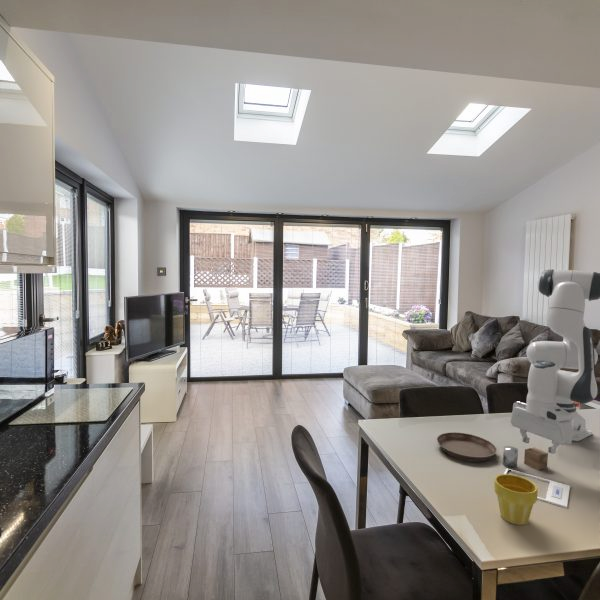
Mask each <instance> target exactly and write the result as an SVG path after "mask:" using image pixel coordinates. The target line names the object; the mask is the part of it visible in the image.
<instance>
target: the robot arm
mask: <svg viewBox="0 0 600 600" xmlns="http://www.w3.org/2000/svg"><path fill="white" fill-rule="evenodd" d="M536 283H537V288H538V291H539V293H540V294H541V295H543V296H545V297H548V298H549V297H550V298H549V303H548V306H547V312H546V324H547V326H548V328H549V329H550V330H551V331H552V332H553V333H555V334H557V336H560V337H562V339H563V340H562V341H557V340H556V341H554V340H553V341H552V340H540V341H538V340H537V341H533V342H531V343H530V344H528V346H527V348H526V357H527V360H528V362H529V363H530V366H529V371H528V374H527V375H528V377H527V390H528V392H527V395H526V403H525V402H521V401H515V402H514V403H513V405H512V412H511V416H510V424H511V426H512V427H514V428H517V429H519V432H520V433H519V434H520V435H521V437H522V439H521V440H522V442H523V443H525V444H529V443H530V441H531V439H530V437H528V434H527V433H530V434H534V435H536V436H539V437H541V438H543V439H546V440H548V441H551V444H552V446H549V447H547V448H548V450H547V453H548V454H552V455H554V454H556V453H557V449H558V447H559V446H560V445H563V446H565V445H570V444H571V443H572V442H579V441H581V440H583V439H586V438H587V437H588V438H589V436H591V435H593V432H592V431H591V430H589V429H588V428H586V424H587V423H586V419H585V418H584V417H583V416H582V415H581V414H580V413H579V412H578V411H577V408H579V407H580V406H581V404H582V405H585V404H588V403H591V402H592V401H594V400H595V399H596V398H597V396H598V385H597V384H598V383H597V377H596V364H597V362H598V361H599V356H598V352H597V350H596V349H595V347H594V345H595V344H594V337H593V332H592V330H591V329H590V328H589V327H587V326H586V324H585V322H584V316H585V309H586V300H588V302H592V301H597V300H599V299H600V272H597V271H596V272H595V271H593V272H591V271H586V270H577V269H573V270H572V269H552V268H551V269H546V270H543V271H542V272H541V273H540V275H539V276H538V279H537V282H536ZM562 369H572V370H578V371H577V372H576V371H575V372H574V371H568V370H562Z"/></svg>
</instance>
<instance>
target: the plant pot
mask: <svg viewBox="0 0 600 600" xmlns="http://www.w3.org/2000/svg"><path fill="white" fill-rule="evenodd" d="M493 488H494V489H493V490H494V493H495V494H496V496H497V502H498V506H499V507H498V508H499V513H500V516H501V518H502V519H503V520H505V521H507V522H508V523H510V524H514V525H520V526H522V525H527V524H528V523H529V520H530V516H531V514H532V510H533V507H534V505H535V504H536V503H537V501H538V499H537V497H538V494H539V493H538V486H537V484H535V483H534V482H533V481H531V480H530V479H528V478H525V477H523V476H520V475H515V474H510V473H506V474H504V473H501V474H498V475H496V476H495V478H494V486H493Z"/></svg>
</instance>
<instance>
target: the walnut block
mask: <svg viewBox="0 0 600 600" xmlns="http://www.w3.org/2000/svg"><path fill="white" fill-rule="evenodd" d="M548 459H549V452H546V451H544V450H542V449H539V448H537V447H535V446H534V447H529V448H526V449H524V458H523V460H524V461H523V463H524V464H525V465H527V466H529V467H532V468H533V469H536V470H542V469H545V468H548V461H549V460H548Z"/></svg>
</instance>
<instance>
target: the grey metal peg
mask: <svg viewBox="0 0 600 600" xmlns="http://www.w3.org/2000/svg"><path fill="white" fill-rule="evenodd" d="M518 455H519V448H516V447H514V446H512V445H511V446H510V445H505V446H503V453H502V457H503V458H502V465H503V466H504V467H505V468H508V469H517V468H518V459H519V457H518Z"/></svg>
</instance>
